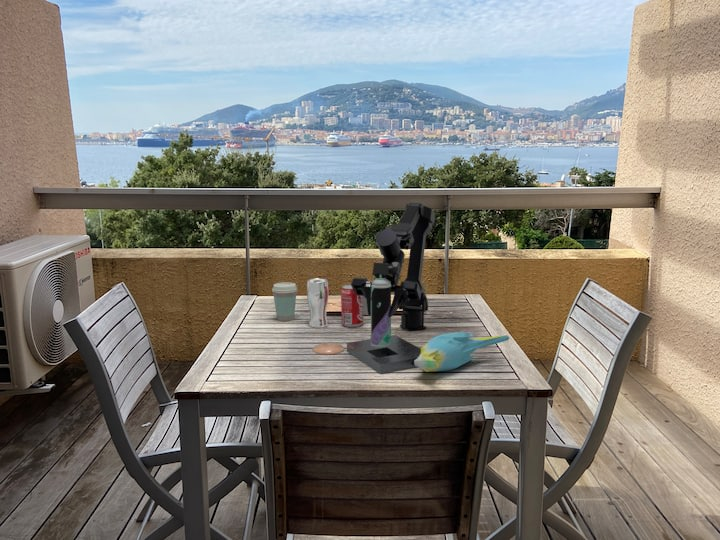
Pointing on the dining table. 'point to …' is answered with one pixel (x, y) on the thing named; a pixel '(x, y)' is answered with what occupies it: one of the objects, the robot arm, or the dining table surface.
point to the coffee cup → (285, 300)
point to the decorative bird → (451, 350)
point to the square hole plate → (385, 354)
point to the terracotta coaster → (328, 348)
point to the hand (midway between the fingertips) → (379, 315)
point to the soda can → (351, 307)
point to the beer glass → (317, 301)
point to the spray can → (380, 312)
